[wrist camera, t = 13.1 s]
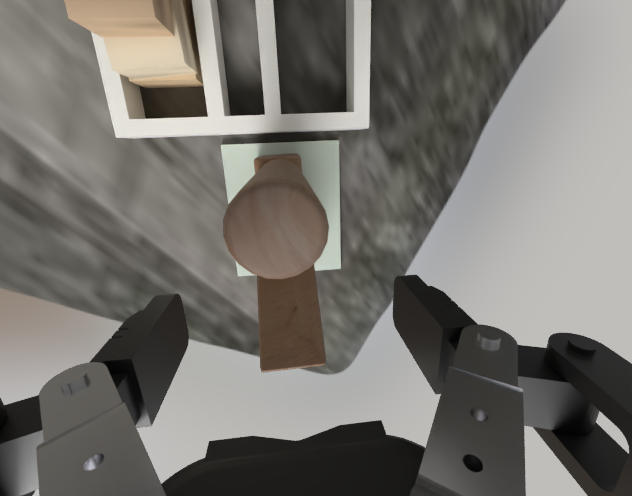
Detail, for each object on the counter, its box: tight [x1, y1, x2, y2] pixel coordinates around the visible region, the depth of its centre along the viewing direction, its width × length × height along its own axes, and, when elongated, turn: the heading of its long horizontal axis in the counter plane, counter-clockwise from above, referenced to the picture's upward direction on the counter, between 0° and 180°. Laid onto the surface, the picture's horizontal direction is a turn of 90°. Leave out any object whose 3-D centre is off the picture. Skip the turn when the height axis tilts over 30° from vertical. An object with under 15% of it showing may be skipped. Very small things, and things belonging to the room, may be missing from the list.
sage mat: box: [221, 140, 341, 276], centre depth 28 cm, size 12×10×1 cm
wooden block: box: [223, 153, 329, 372], centre depth 20 cm, size 4×11×18 cm, turn 4°
